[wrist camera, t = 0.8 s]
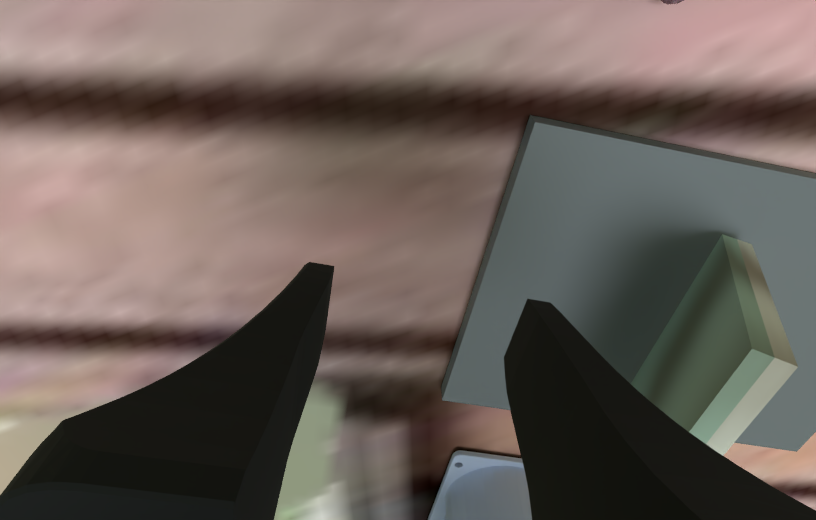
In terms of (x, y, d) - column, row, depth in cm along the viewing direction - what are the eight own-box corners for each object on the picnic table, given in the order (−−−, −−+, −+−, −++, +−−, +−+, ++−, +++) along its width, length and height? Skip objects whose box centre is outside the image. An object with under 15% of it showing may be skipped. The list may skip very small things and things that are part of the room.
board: (785, 437, 30) (796, 451, 30) (441, 386, 28) (442, 400, 28) (996, 210, 22) (1019, 220, 21) (530, 114, 20) (535, 122, 19)
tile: (722, 234, 21) (751, 244, 21) (625, 392, 27) (647, 402, 26) (752, 348, 14) (797, 366, 14) (610, 536, 19) (641, 552, 19)
